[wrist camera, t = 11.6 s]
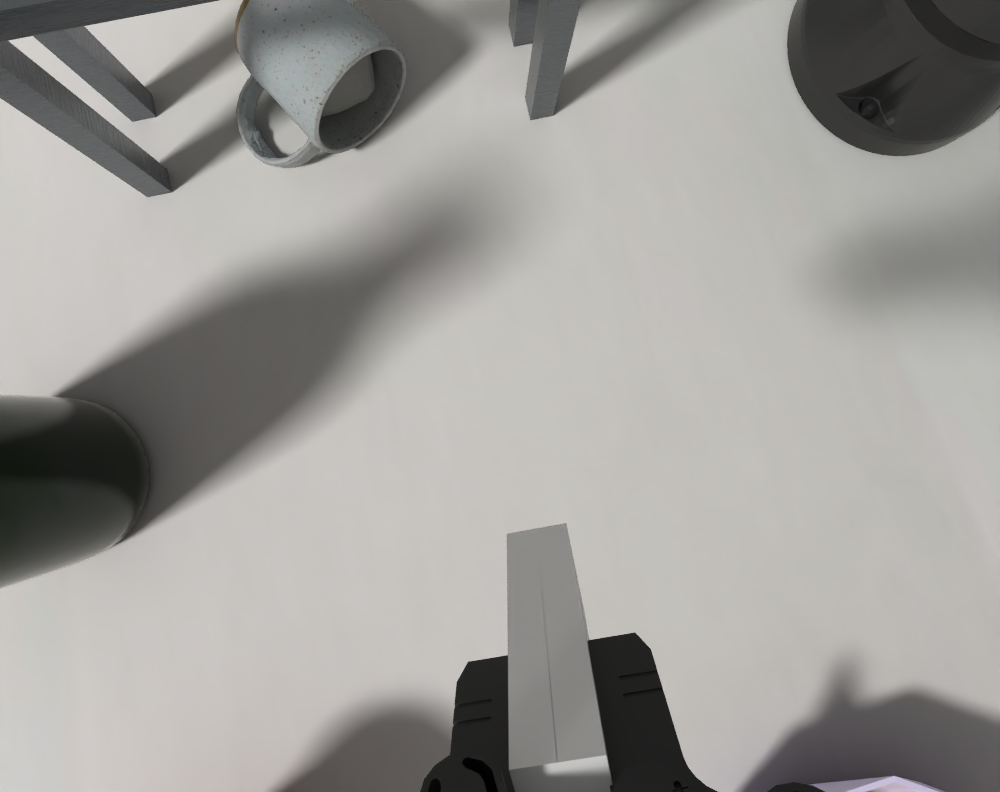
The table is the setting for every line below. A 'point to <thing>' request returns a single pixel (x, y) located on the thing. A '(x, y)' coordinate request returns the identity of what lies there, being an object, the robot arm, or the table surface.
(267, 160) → the ceramic mug
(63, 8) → the frame
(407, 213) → the table surface
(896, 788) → the fruit bowl
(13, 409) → the green wine bottle
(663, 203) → the table surface
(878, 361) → the table surface
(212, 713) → the table surface
